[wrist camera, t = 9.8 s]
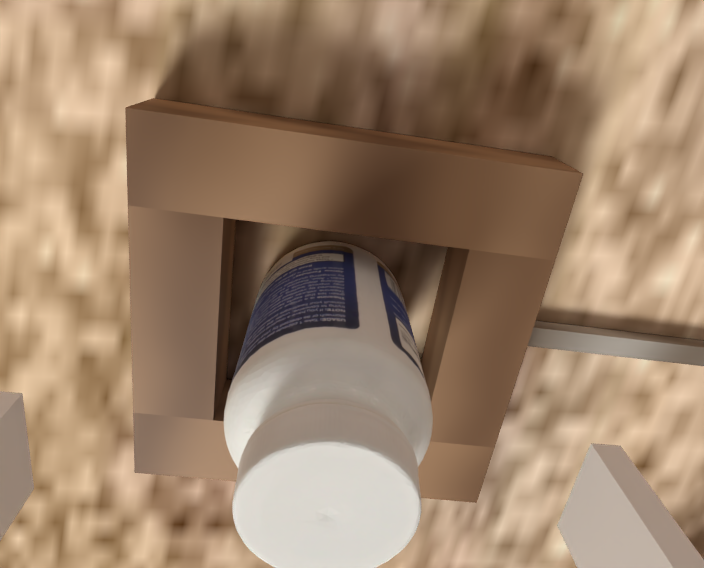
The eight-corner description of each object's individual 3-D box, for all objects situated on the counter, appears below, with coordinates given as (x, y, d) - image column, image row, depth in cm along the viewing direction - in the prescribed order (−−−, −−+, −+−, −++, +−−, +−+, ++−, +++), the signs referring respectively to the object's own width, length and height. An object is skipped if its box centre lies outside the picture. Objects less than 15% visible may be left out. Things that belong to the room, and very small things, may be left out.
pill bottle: (237, 337, 21) (163, 565, 12) (290, 213, 19) (249, 374, 10) (365, 384, 22) (386, 625, 13) (428, 272, 20) (504, 464, 11)
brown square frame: (155, 427, 22) (134, 472, 20) (153, 98, 17) (125, 107, 15) (762, 485, 24) (806, 531, 22) (928, 211, 19) (1008, 235, 17)
